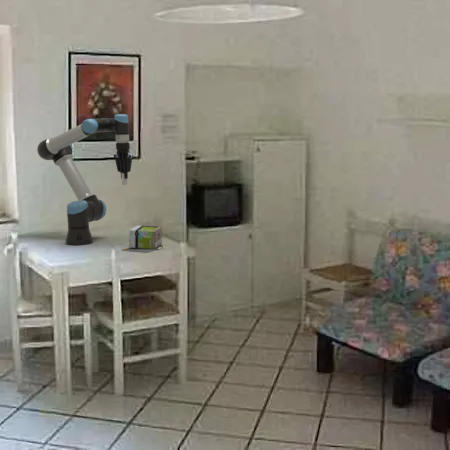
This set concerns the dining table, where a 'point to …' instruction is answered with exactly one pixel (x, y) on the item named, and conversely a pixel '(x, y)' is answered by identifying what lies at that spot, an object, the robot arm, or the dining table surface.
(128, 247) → the oak strip
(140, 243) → the tea box
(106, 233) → the dining table surface
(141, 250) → the mat
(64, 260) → the dining table surface
